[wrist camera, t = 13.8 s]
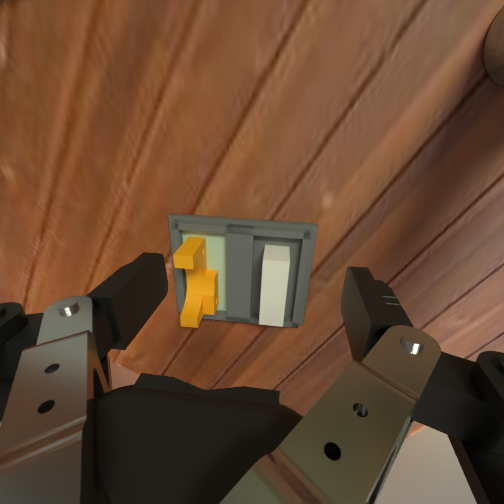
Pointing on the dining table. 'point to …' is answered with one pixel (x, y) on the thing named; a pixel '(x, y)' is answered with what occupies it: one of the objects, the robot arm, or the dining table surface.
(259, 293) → the dock
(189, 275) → the orange stepped block
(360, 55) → the dining table surface
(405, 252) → the dining table surface
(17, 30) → the dining table surface
